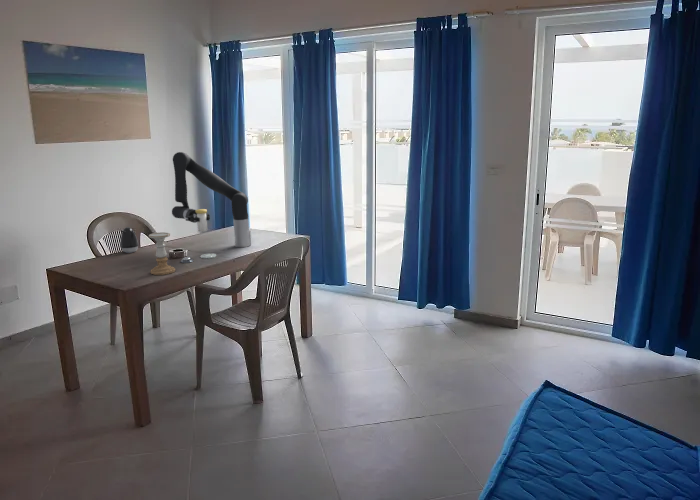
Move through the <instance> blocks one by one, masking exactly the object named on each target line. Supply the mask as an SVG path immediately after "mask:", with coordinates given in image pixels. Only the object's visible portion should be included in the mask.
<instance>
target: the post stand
mask: <svg viewBox="0 0 700 500" xmlns="http://www.w3.org/2000/svg"><path fill="white" fill-rule="evenodd" d="M192 262H194V259H192V257H190V256H185V257H182V259H181V260H180V263H181V264H189V263H192Z"/></svg>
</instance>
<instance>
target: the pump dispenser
mask: <svg viewBox="0 0 700 500" xmlns="http://www.w3.org/2000/svg"><path fill="white" fill-rule="evenodd" d="M120 233H121V235H120V239H119V241H120V242H119V245H120V246H119V247H120V249H121V250H122V252H123V253H126V254H129V253H130V254H131V253H135V252H136V251H137V250H138V248H139V241H138V238H137V235H136V233H135V231H134V230H133V228H131V227H124V229H120Z"/></svg>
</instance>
